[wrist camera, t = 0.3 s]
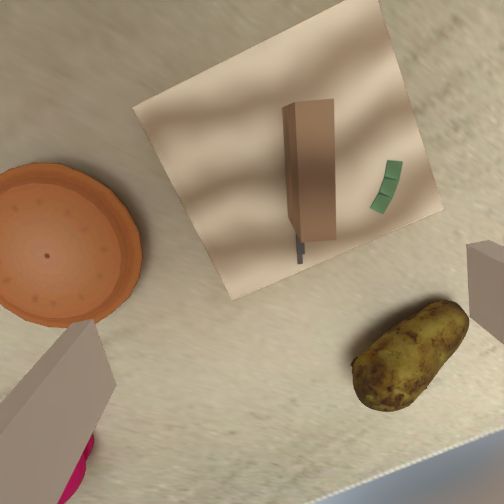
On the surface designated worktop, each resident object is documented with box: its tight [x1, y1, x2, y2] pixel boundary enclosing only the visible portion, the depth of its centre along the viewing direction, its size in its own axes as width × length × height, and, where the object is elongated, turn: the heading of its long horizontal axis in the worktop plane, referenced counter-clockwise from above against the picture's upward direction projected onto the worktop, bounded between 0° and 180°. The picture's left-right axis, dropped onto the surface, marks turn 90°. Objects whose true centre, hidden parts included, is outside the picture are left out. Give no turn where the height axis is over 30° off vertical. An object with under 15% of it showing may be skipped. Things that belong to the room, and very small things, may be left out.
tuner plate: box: [132, 0, 444, 301], centre depth 37 cm, size 20×22×2 cm
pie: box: [0, 163, 143, 328], centre depth 37 cm, size 15×16×5 cm
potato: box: [350, 300, 469, 412], centre depth 40 cm, size 8×13×8 cm, turn 106°
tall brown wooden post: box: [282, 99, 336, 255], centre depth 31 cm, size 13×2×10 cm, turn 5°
